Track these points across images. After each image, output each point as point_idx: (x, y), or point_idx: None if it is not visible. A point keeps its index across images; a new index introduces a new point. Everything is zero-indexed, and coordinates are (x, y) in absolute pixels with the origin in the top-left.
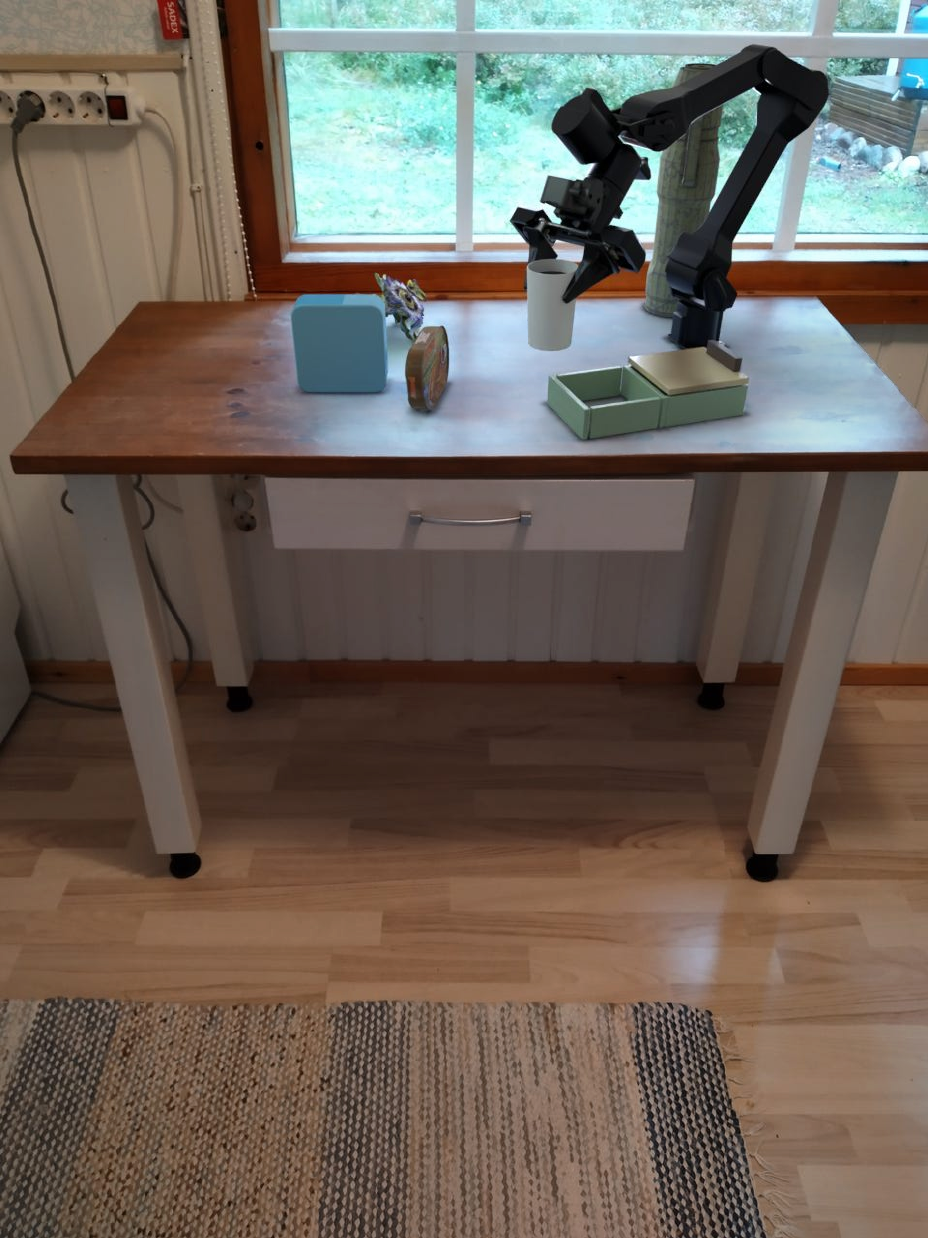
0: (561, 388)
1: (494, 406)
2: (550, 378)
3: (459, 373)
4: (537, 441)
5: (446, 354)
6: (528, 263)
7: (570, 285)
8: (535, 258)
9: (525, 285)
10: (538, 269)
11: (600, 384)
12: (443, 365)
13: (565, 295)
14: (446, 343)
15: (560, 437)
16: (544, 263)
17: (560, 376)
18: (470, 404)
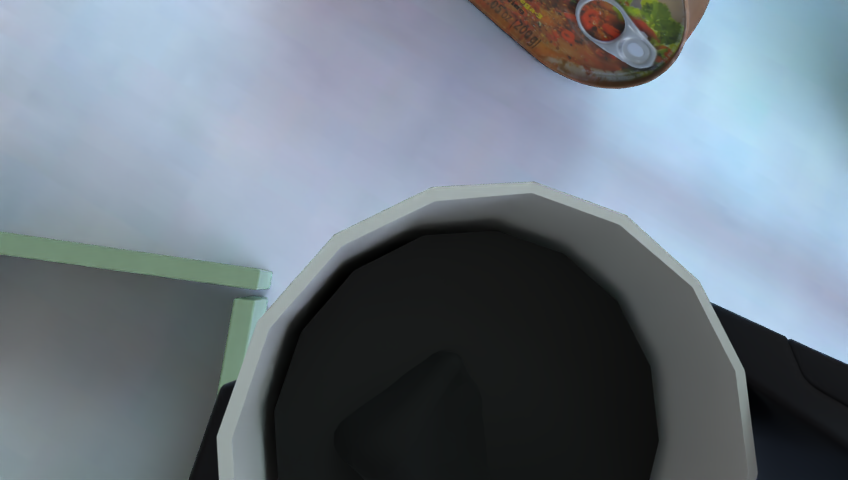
0: (124, 249)
1: (338, 115)
2: (240, 266)
3: (608, 149)
4: (33, 94)
5: (628, 63)
6: (763, 333)
7: (216, 475)
8: (771, 397)
9: None
10: (682, 402)
11: None
12: (589, 47)
13: (223, 402)
14: (666, 63)
15: (19, 174)
16: (713, 476)
17: (232, 308)
18: (387, 60)
